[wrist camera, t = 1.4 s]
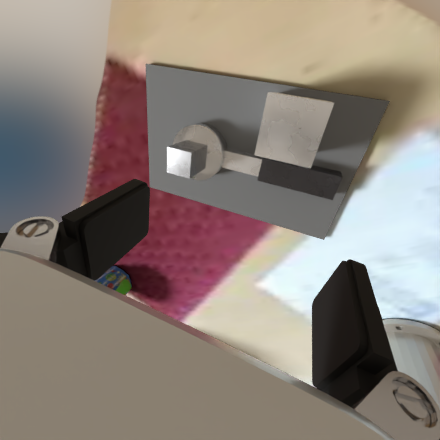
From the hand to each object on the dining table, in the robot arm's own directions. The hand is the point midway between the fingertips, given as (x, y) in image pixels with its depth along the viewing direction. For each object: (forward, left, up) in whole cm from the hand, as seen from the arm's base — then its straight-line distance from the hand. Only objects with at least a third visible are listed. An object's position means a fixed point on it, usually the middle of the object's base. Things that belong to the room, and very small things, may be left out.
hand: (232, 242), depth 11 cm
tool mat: (+6, +2, -21) cm, 22 cm away
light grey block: (0, -3, -21) cm, 21 cm away
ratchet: (+4, +2, -21) cm, 21 cm away
